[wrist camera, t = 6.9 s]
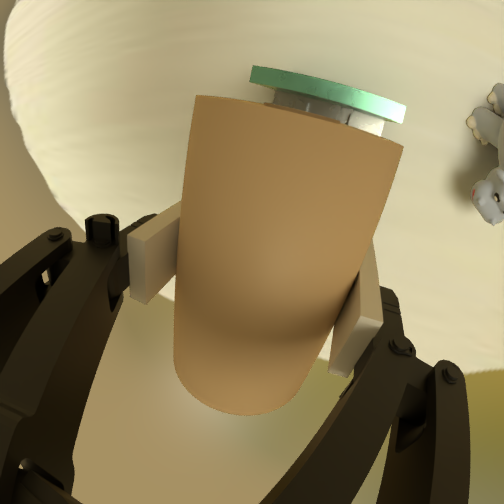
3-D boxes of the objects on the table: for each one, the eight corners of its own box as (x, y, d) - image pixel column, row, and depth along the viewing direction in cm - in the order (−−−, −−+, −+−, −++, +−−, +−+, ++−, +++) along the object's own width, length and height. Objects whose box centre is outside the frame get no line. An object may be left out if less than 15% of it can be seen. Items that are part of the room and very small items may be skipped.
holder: (281, 79, 24) (252, 65, 16) (386, 108, 22) (406, 106, 14) (248, 232, 32) (215, 274, 24) (336, 260, 30) (331, 313, 23)
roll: (234, 96, 12) (152, 89, 6) (382, 134, 11) (436, 158, 5) (202, 301, 18) (150, 384, 12) (309, 334, 18) (293, 432, 11)
